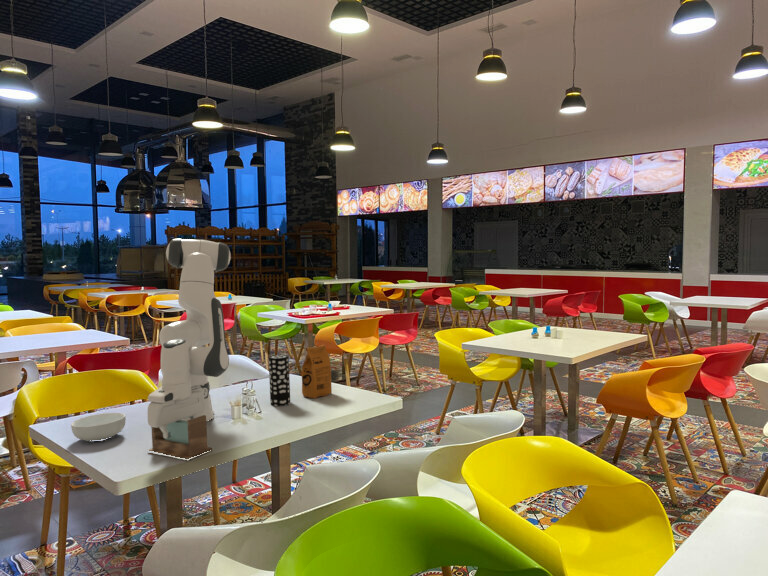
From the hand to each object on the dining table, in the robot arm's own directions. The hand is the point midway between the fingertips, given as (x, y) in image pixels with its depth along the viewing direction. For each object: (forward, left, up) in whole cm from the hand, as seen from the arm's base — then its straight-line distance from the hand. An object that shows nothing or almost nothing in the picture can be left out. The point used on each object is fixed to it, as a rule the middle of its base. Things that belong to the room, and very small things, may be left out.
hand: (179, 433), depth 176 cm
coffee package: (-2, +78, -6) cm, 78 cm away
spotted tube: (-8, +60, -6) cm, 61 cm away
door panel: (0, 0, -5) cm, 5 cm away
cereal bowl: (-38, -2, -6) cm, 39 cm away
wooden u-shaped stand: (0, 0, -6) cm, 6 cm away
